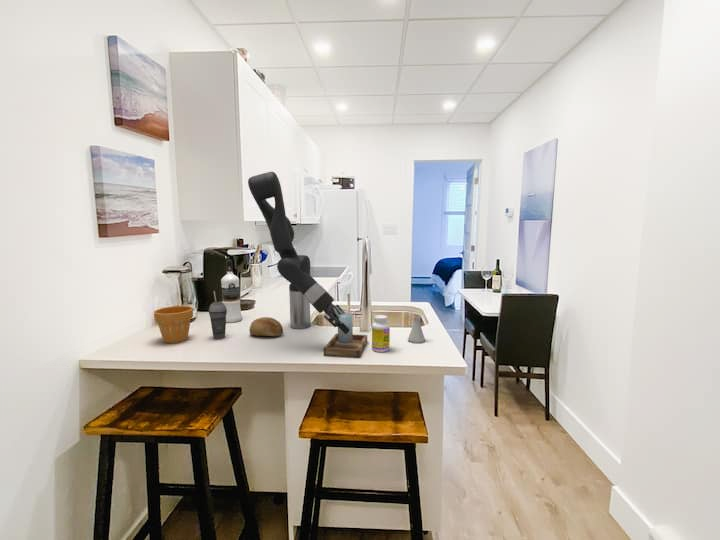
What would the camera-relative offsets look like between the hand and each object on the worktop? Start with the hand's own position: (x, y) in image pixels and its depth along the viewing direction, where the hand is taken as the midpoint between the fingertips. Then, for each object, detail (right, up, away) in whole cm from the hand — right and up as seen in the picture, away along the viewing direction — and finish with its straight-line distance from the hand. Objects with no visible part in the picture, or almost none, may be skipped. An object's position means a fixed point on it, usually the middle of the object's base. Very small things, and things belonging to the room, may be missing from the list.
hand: (349, 329), depth 136 cm
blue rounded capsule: (-2, -4, +1) cm, 5 cm away
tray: (-1, -8, +3) cm, 8 cm away
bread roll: (-36, -6, +20) cm, 42 cm away
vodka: (-59, -3, +44) cm, 74 cm away
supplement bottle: (+12, -8, +1) cm, 14 cm away
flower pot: (-72, -7, +14) cm, 74 cm away
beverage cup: (-55, -6, +17) cm, 58 cm away
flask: (+27, -6, +11) cm, 30 cm away
